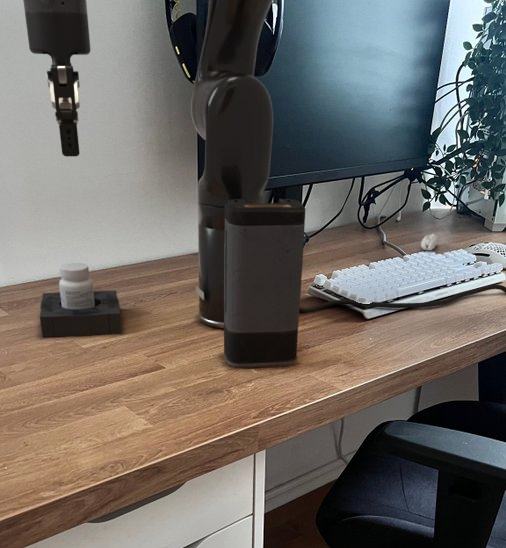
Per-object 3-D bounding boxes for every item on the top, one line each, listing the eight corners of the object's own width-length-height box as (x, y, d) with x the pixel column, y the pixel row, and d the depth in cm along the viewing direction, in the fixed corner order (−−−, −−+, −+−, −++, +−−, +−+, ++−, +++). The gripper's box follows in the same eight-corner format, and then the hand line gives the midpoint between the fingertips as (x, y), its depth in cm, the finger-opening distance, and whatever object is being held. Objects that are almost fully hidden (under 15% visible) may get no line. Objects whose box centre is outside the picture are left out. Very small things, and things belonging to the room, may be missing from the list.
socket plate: (118, 308, 108) (116, 289, 107) (122, 333, 99) (121, 313, 97) (44, 311, 106) (42, 292, 105) (41, 337, 97) (38, 317, 95)
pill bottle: (66, 317, 104) (59, 261, 100) (98, 317, 105) (93, 261, 100) (61, 328, 100) (54, 270, 96) (94, 328, 101) (89, 270, 96)
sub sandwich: (439, 245, 150) (441, 232, 149) (432, 253, 144) (434, 240, 143) (424, 243, 151) (426, 230, 150) (417, 251, 145) (419, 238, 144)
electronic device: (288, 349, 95) (297, 198, 85) (298, 366, 90) (308, 207, 80) (222, 352, 94) (223, 198, 84) (228, 369, 89) (229, 208, 79)
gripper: (88, 8, 80) (101, 159, 88) (85, 13, 92) (97, 145, 100) (21, 6, 78) (40, 159, 86) (27, 11, 90) (44, 145, 98)
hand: (71, 151), depth 93 cm, fingers open, 8 cm apart
